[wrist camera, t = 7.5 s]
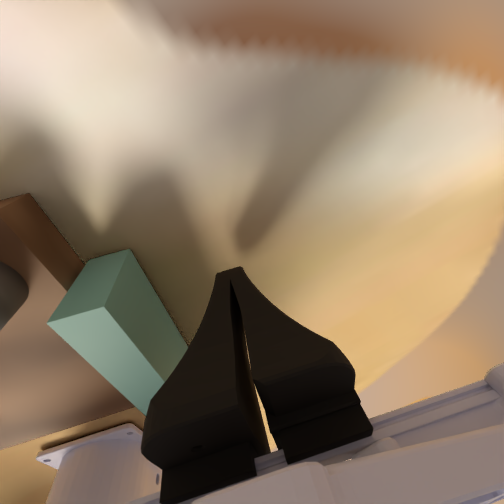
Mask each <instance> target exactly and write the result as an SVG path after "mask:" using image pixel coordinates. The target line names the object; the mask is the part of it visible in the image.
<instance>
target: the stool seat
mask: <svg viewBox="0 0 504 504" xmlns="http://www.w3.org/2000/svg"><path fill="white" fill-rule="evenodd" d="M84 267H85V265H84V264H83V263H82V261H81V260H80V259H79V257H78V256H77V255H76V253H75V252H74V251H73V250H72V248H71V247H70V246H69V244H68V243H67V242H66V240H65V239H64V238H63V237H62V235H61V234H60V233H59V231H58V230H57V229H56V227H55V226H54V225H53V224H52V222H51V221H50V220H49V218H48V217H47V216H46V214H45V213H44V212H43V211H42V209H41V208H40V207H39V205H38V204H37V203H36V201H35V200H34V199H33V198H32V196H31V195H30V194H29V193H27V194H24V195H20V196H16V197H12V198H8V199H4V200H0V450H2V449H5V448H8V447H12V446H15V445H18V444H21V443H24V442H27V441H30V440H33V439H36V438H40V437H43V436H46V435H49V434H52V433H55V432H58V431H61V430H64V429H68V428H71V427H74V426H77V425H80V424H83V423H86V422H89V421H93V420H96V419H99V418H102V417H105V416H108V415H111V414H114V413H117V412H121V411H124V410H127V409H130V408H133V407H135V406H134V405H133V404H132V403H131V402H130V401H129V400H128V399H127V398H126V397H125V396H124V395H123V394H121V393H120V392H119V391H118V390H117V389H116V388H115V387H114V386H113V385H112V384H111V383H110V382H109V381H108V380H106V379H105V378H104V377H103V376H102V375H101V374H100V373H99V372H98V371H97V370H96V369H95V368H94V367H93V366H92V365H90V364H89V363H88V362H87V361H86V360H85V359H84V358H83V357H82V356H81V355H80V354H79V353H78V352H77V351H76V350H74V349H73V348H72V347H71V346H70V345H69V344H68V343H67V342H66V341H65V340H64V339H63V338H62V337H61V336H59V335H58V334H57V333H56V332H55V331H54V330H53V329H52V328H51V327H50V326H49V325H48V324H47V321H48V320H49V318H50V317H51V315H52V314H53V312H54V311H55V310H56V308H57V307H58V305H59V304H60V302H61V301H62V299H63V298H64V296H65V295H66V293H67V292H68V290H69V289H70V287H71V286H72V284H73V283H74V281H75V280H76V278H77V277H78V275H79V274H80V272H81V271H82V269H83V268H84Z"/></svg>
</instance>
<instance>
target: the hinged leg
mask: <svg viewBox="0 0 504 504" xmlns="http://www.w3.org/2000/svg"><path fill="white" fill-rule="evenodd" d="M47 324H48V325H49V326H50V327H51V328H52V329H53V330H54V331H55V332H56V333H57V334H58V335H59V336H61V337H62V338H63V339H64V340H65V341H66V342H67V343H68V344H69V345H70V346H71V347H72V348H73V349H74V350H76V351H77V352H78V353H79V354H80V355H81V356H82V357H83V358H84V359H85V360H86V361H87V362H88V363H89V364H90V365H92V366H93V367H94V368H95V369H96V370H97V371H98V372H99V373H100V374H101V375H102V376H103V377H104V378H105V379H106V380H108V381H109V382H110V383H111V384H112V385H113V386H114V387H115V388H116V389H117V390H118V391H119V392H120V393H121V394H123V395H124V396H125V397H126V398H127V399H128V400H129V401H130V402H131V403H132V404H133V405H134V406H135V407H136V408H137V409H139V410H140V411H141V412H142V413H143V414H144V415H145V416H146V414H147V411H148V407H149V403H150V400H151V399H152V398H153V396H154V395H155V394H156V393H157V391H158V390H159V389H160V388H161V386H162V385H163V384H164V383H165V381H166V380H167V379H168V377H169V376H170V375H171V373H172V372H173V370H174V369H175V367H176V366H177V364H178V363H179V361H180V360H181V359H182V357H183V356H184V354H185V352H186V351H187V349H188V346H187V344H186V343H185V341H184V339H183V338H182V336H181V334H180V333H179V331H178V329H177V328H176V326H175V324H174V322H173V321H172V319H171V317H170V316H169V314H168V312H167V311H166V309H165V307H164V306H163V304H162V302H161V301H160V299H159V297H158V295H157V294H156V292H155V290H154V289H153V287H152V285H151V284H150V282H149V280H148V279H147V277H146V275H145V274H144V272H143V270H142V268H141V267H140V265H139V263H138V262H137V260H136V258H135V257H134V255H133V253H132V252H131V250H130V249H127V250H123V251H119V252H116V253H112V254H108V255H105V256H101V257H97V258H94V259H90V260H89V261H88V262H87V264H86V265H85V267H84V268H83V269H82V271H81V272H80V274H79V275H78V277H77V278H76V280H75V281H74V283H73V284H72V286H71V287H70V289H69V290H68V292H67V293H66V295H65V296H64V298H63V299H62V301H61V302H60V304H59V305H58V307H57V308H56V310H55V311H54V312H53V314H52V315H51V317H50V318H49V320H48V321H47Z"/></svg>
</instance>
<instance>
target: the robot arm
mask: <svg viewBox="0 0 504 504" xmlns="http://www.w3.org/2000/svg"><path fill="white" fill-rule="evenodd" d="M244 330H245V331H244ZM245 335H246V338H245ZM246 341H247V346H246ZM247 347H248V353H249V359H250V364H249V359H248V353H247ZM250 366H251V368H250ZM254 384H255V385H254ZM354 386H355V370H354V368H353V366H352V365H351V363H350V362H349V360H348V359H347V358H346V356H345V355H344V354H343V353H342V352H341V350H340V349H339V348H338V347H337V346H336V345H335V344H334V343H333V342H332V341H330V340H328V339H326V338H324V337H322V336H320V335H318V334H316V333H314V332H312V331H311V330H309V329H307V328H306V327H304V326H302V325H301V324H299V323H298V322H296V321H295V320H293V319H292V318H290V317H289V316H287V315H286V314H285V313H283V312H282V311H281V310H279V309H278V308H277V307H276V306H274V305H273V304H272V303H271V302H270V301H269V300H268V299H267V298H266V297H265V296H264V295H263V294H262V293H261V292H260V291H259V290H258V289H257V288H256V287H255V285H254V284H253V283H252V282H251V281H250V279H249V278H248V277H247V275H246V273H245V272H244V270H243V267H240V266H239V267H236V268H233V269H229V270H226V271H222V272H219V273H217V274H216V278H215V283H214V287H213V291H212V295H211V298H210V301H209V304H208V307H207V310H206V312H205V315H204V317H203V320H202V322H201V324H200V326H199V328H198V331H197V333H196V335H195V336H194V338H193V340H192V342H191V344H190V345H189V347H188V349H187V351H186V352H185V354H184V356H183V357H182V359H181V360H180V361H179V363H178V364H177V366H176V367H175V369H174V370H173V372H172V373H171V375H170V376H169V377H168V379H167V380H166V381H165V383H164V384H163V385H162V386H161V388H160V389H159V390H158V391H157V393H156V394H155V395H154V396H153V398H152V399H151V400H150V403H149V407H148V411H147V414H146V418H145V423H144V429H143V432H142V431H141V430H140V429H139V428H137V427H136V426H135V425H134V424H132V423H127V424H123V425H120V426H117V427H114V428H111V429H108V430H105V431H102V432H99V433H96V434H93V435H90V436H86V437H83V438H80V439H77V440H74V441H71V442H68V443H65V444H62V445H59V446H56V447H53V448H49V449H46V450H43V451H41V452H39V453H38V454H37V457H36V460H37V461H39V462H42V463H44V464H46V465H49V466H51V467H53V468H55V469H58V471H57V474H56V476H55V479H54V482H53V484H52V487H51V490H50V492H49V495H48V498H47V501H46V503H45V504H492V503H494V502H497V501H499V500H501V499H504V363H501V364H498V365H496V366H494V367H493V368H491V369H490V370H489V371H488V372H487V373H486V375H485V377H484V380H481V381H478V382H475V383H472V384H469V385H466V386H463V387H460V388H457V389H454V390H452V391H449V392H446V393H443V394H440V395H437V396H434V397H431V398H428V399H425V400H423V401H420V402H417V403H414V404H411V405H408V406H405V407H402V408H399V409H396V410H394V411H391V412H388V413H385V414H382V415H379V416H376V417H373V418H370V419H368V417H367V416H366V414H365V412H364V410H363V408H362V407H361V405H360V402H361V401H360V399H359V397H358V395H357V393H356V391H355V389H354ZM255 387H256V389H257V392H258V394H259V397H260V399H261V402H262V404H263V407H264V409H265V413H266V417H267V421H268V426H269V430H270V433H272V436H273V438H274V441H275V443H276V445H277V448H278V451H275V452H272V453H271V451H270V447H269V443H268V439H267V435H266V431H265V427H264V423H263V419H262V415H261V411H260V406H259V402H258V398H257V394H256V390H255ZM351 458H352V459H351ZM348 459H351V460H348ZM346 460H348V461H346ZM343 461H344V462H343Z"/></svg>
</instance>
